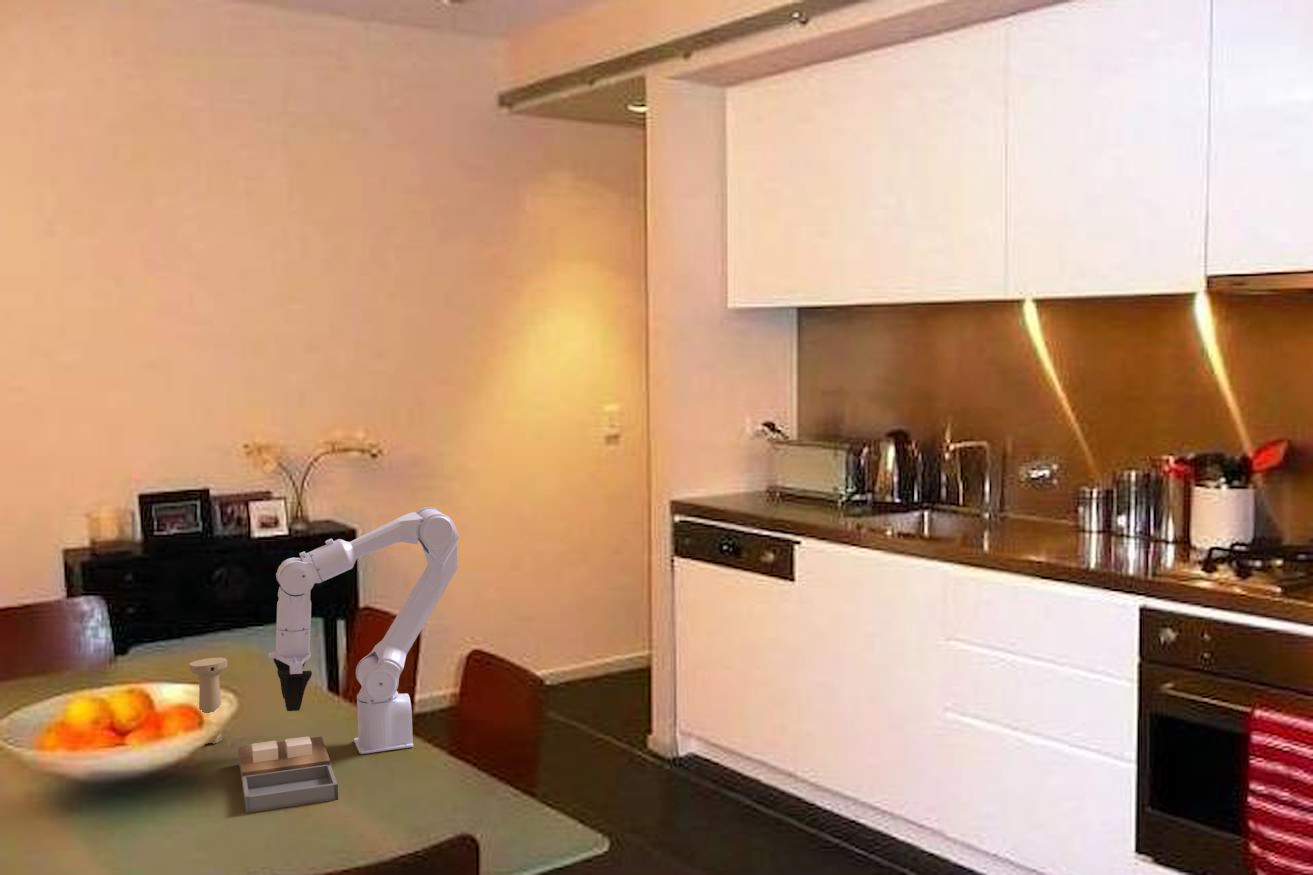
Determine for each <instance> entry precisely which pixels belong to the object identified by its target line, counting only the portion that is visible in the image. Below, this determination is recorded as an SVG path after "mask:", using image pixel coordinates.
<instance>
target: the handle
mask: <svg viewBox="0 0 1313 875" xmlns="http://www.w3.org/2000/svg"><path fill="white" fill-rule="evenodd" d="M188 665H189V666H188V667H189V671H190V672H191V673H193V674H195V675H197V676H198V680H199V682H198V684H199V689H198V690H199V692H198V696H199V697H198V698H199V700H198V710H199V709H200V710H202V712H204V713H210V712H214V711H215V710H216V709H217V708H219V706H220V705H221V703H222V696H221V690H220V689H221V688H220V687H221V686H220V673H221V672H223V670H225V669H226V668H227V667H228V660H227V658H226V657H209V658H203V659H199V660H194V661H192V662H189V664H188ZM222 731H223V730H222ZM222 731H221V732H220V733H219V734H218V736H217V738H215V740H213V743H214V742H215V743H216V744H217V743H220V742H221V741H222V738H223V734H222Z"/></svg>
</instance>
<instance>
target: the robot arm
mask: <svg viewBox="0 0 1313 875" xmlns="http://www.w3.org/2000/svg"><path fill="white" fill-rule="evenodd" d="M459 538H460V535H459V533H458V531H457V528H456V526H455V523H454V521H453V520H452V518H450V517H449V516H448V515H446V514H443V512H441V510H439V509H437V508H435V507H432V506H431V507H429V506H428V507H422V508H420V509H419V510H418V511H416V512H415V511H413V512H409V513H407V514H405V515H402V516H400V517H398V518H395V519H393V520H391V521H390V522H388V523H386V524H383V525H381V526H378V527H377V528H375V529H373V530H371V531H369V532H367V533H365V534H363V535H361V536H359V537H356V538H355V539H353V540H351V541H346V540H344V539H341V538H338V539H335V540H333V538H329V539H327V540H325V541H324V543H325V545H322V546H319V547H317V548H315V549H313V550H311V551H309V552H306V551H302V552H299V553H298V554H299V557H290V558H287V559H285V560H283V561H282V562H281V564H280V565H279V566H278V568H277V572H276V573H275V576H276V578H275V579H276V581H277V582H278V584H279V587H278V592H277V597H278V601H277V603H276V632H275V633H276V634H275V636H276V637H275V651H269V652H268V659H273V662H274V665H275V666H276V669H277V670H276V672H277V676H278V678H279V681H280V688H281V695H282V697H283V700H284V703H285V704H284V705H285V708H286V711H287V712H296V711H297V712H298V711H300V710H301V706H302V702H303V698H304V693H305V691H306V687H307V685H308V682H309V681H310V679H311V677H312V675H313V671H312V670H303V669H304V667H305V665H306V662H307V661H308V660H309V659H310V658H311V656H312V652H311V625H312V624H311V621H312V600H311V591H312V589H313V588H314V586H315V584H321V583H323V582H325V581H327V580H329V579H332V578H334V577H336V576H339V575H340V574H343V573H345V572H347V571H349V570H352V569H353V568H354V566H355V564H356V561H357V560H358V559H360V558H361V557H364V556H367V555H370V554H372V553H374V552H376V551H380V550H383V549H385V548H388V547H390V546H392V545H395V544H396V543H404V544H405V543H407V544H412V545H419V544H420V545H421V547H422V549H423V553H424V556H425V560H426V562H427V564H426V566H425V568H424V570H423V572H422V573H421V575H420V577H419V578H418V580H417V582H416V584H415V585H414V586H413V588H412V590H411V591H410V593H409V594H408V597H407V599H406V600H405V601H404V603H403V605H402V607H401V608H400V611H399V612H397V613H398V614H397V615H396V617H395V618H394V619H393V621H392V623H391V624H390V626H389V628H388V630H387V631H386V633H385V634H384V636H383V638H382V639H381V640H380V641H379V642H377V644H375V645H374V647H373V648H372V650H371V651H370V652H369V653H368V654H367V655H366V656H364V657H363V658H362V659H360V660H359V662H358V664H357V665H356V668H355V678H356V680H357V681H358V683H359V684H360V685H361V688H360V690H359V692H358V693H357V694H356V705H357V706H356V708H357V732H358V733H357V734H358V735H357V736H358V737H355V738H353V741H354V744H355V747H356V748H357V750H358V753H359V754H360V755H363V754H371V753H379V752H387V751H393V750H400V749H401V750H402V749H408V748H413V747H414V741H413V715H412V714H413V712H412V703H411V698H410V695H409V693H399V692H398V690H397V689H398V687H399V679H400V676H401V674H402V672H403V670H404V667H405V663H406V658H407V655H408V653H409V651H410V650H411V648H412V647H413V645H414V643H415V641H416V639H417V638H418V636H419V635H420V633H421V631H422V630H423V628H424V626H425V624H426V623H427V621H428V620H429V618H430V616H431V614H432V612H433V611H434V609H435V608H436V606H437V604H438V603H439V601H440V599H441V598H442V596H443V594H444V593H445V591H446V590H447V588H448V586H449V584H450V583H451V581H452V579H453V577H454V576H455V574H456V573H457V570H458V566H459V565H458V564H459V563H458V562H459V560H458V558H459V557H458V556H459V552H458V549H459V548H458V543H459Z"/></svg>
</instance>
